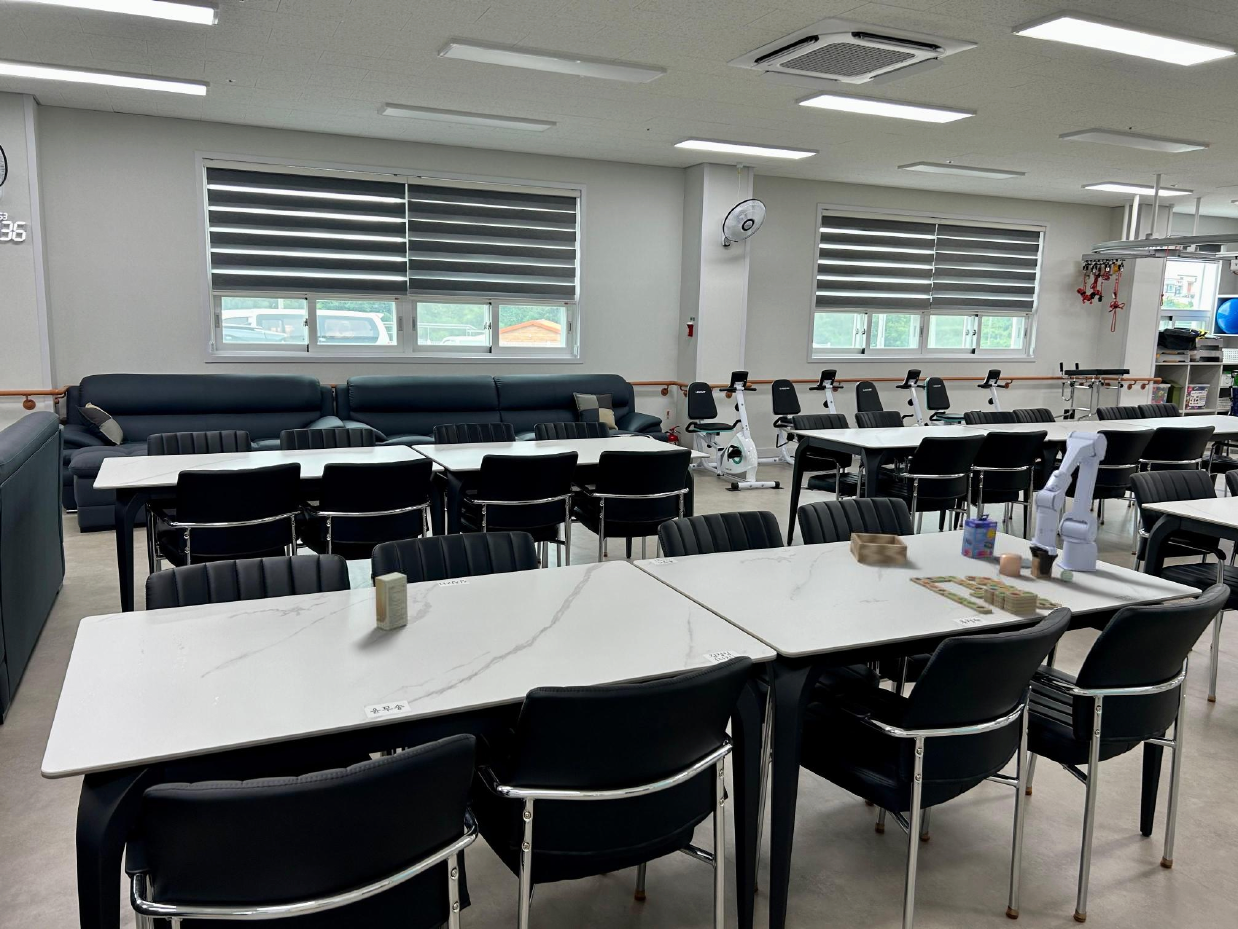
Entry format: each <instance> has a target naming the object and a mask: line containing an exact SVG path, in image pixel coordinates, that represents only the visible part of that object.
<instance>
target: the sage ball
mask: <svg viewBox="0 0 1238 929" xmlns="http://www.w3.org/2000/svg"><path fill="white" fill-rule="evenodd" d="M1059 577H1060V579H1061V580H1062V581H1064V582H1068V583H1069V582H1071V581H1072V580H1073V578H1074V574H1073V571H1072V570H1065V569H1063V570H1062V571H1061V572H1060V576H1059Z"/></svg>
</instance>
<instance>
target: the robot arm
mask: <svg viewBox="0 0 1238 929" xmlns="http://www.w3.org/2000/svg"><path fill="white" fill-rule="evenodd" d="M1107 444H1108V441H1107V438H1106V436H1105V435H1104V434H1103V433H1095V432H1087V431H1085V432H1084V431H1078V430H1072V431H1070V433H1068V435H1067V437H1066V453H1065V455H1064V456H1063V460H1062V462H1061V465H1060V467H1059V469H1057V470H1054V471H1053V472H1052V474H1051V475H1050V477H1049V479H1048V481H1047V482H1046V485H1045V486H1044V487H1043V489H1041V490H1038V491H1037V493H1036V495H1035V498H1034V505H1035V513H1036V522H1035V533H1034V536H1033V537H1032V538H1031V541H1030V542H1029V545H1030V546H1028V549H1029V551H1030V553H1031V556H1032V557H1039V560H1040V573H1041V574H1043V575H1048V574H1049V572H1050V569H1051V566H1052V564H1054V562H1055V561H1056V560H1057V558H1058V557H1059V554H1058V553H1057V552H1058V548H1057V547H1056V537H1057V536H1056V534H1057V527H1058V533H1059V535H1060V537H1061V540H1062V541H1063V547H1062V555H1061V561H1060V562H1055V564H1056V565H1057V566H1059V567H1060V568H1062V569H1063V570H1069V571H1075V572H1076V571H1079V572H1080V571H1081V572H1095V573H1096V572H1097V570H1096V569H1097V568H1096V567H1097V559H1098V546H1097V544H1096V542H1094V541H1095V539H1096V538H1097V535H1098V519H1097V518H1096V517H1095V516H1094V515H1093V513H1091V512H1090V511H1091V508H1092V507H1091V505H1092V500H1093V494H1094V489H1095V485H1096V484H1095V483H1096V480H1097V475H1098V471H1099V470H1098V469H1099V464H1100V461H1103V460H1104V459H1105V456H1106V450H1107ZM1079 463H1080V466H1079V471H1078V478H1077V480H1076V487H1075V493H1074V497H1073V502H1072V508H1071V510H1069V511H1067V512H1064V513H1063V516H1062V518H1061V521H1060V523H1059V526H1058V519H1059V511H1060V510H1061V509H1062V508H1063V506H1064V502H1065V498H1066V492H1067V490H1068V488H1069V486H1070V484H1071V483H1072V481H1073V477H1072V476H1071V475H1072V473H1073V472H1074V471H1075V469H1076V468H1077V466H1078V465H1079ZM1032 557H1031V558H1032Z"/></svg>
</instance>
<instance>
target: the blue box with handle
mask: <svg viewBox="0 0 1238 929" xmlns="http://www.w3.org/2000/svg"><path fill="white" fill-rule="evenodd" d="M989 516H990V513H988V514H981V515H980V516H979V517H978V518H968V519H965V520H964V525H963V526H964V527H963V536H962V545H961V552H960V553H961V555H963V556H966V557H968V558H970V559H977V558H978V559H979V558H987V557H989V558H990V557H994V553H995V544H996V543H995V542H996V536H997V529H998V521H996V520H994V519H990V518H989Z"/></svg>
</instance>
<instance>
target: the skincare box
mask: <svg viewBox="0 0 1238 929" xmlns="http://www.w3.org/2000/svg"><path fill="white" fill-rule="evenodd" d="M407 578H408V577H407V575H406V574H403V573H400V572H391V573H386V574H383V575H380V576H377V577H375V579H374V581H375V586H374V587H375V616H376V617H375V619H376V620H375V621H376V622H375V623H376V624H375V625H376V627H378V628H380V629H382V630H385V631H389V630H394V629H395V628H396V629H397V628H399V627H403V626H406V625H408V624H409V623H408V622H409V621H408V620H409V619H408V613H409V612H408V580H407Z"/></svg>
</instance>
